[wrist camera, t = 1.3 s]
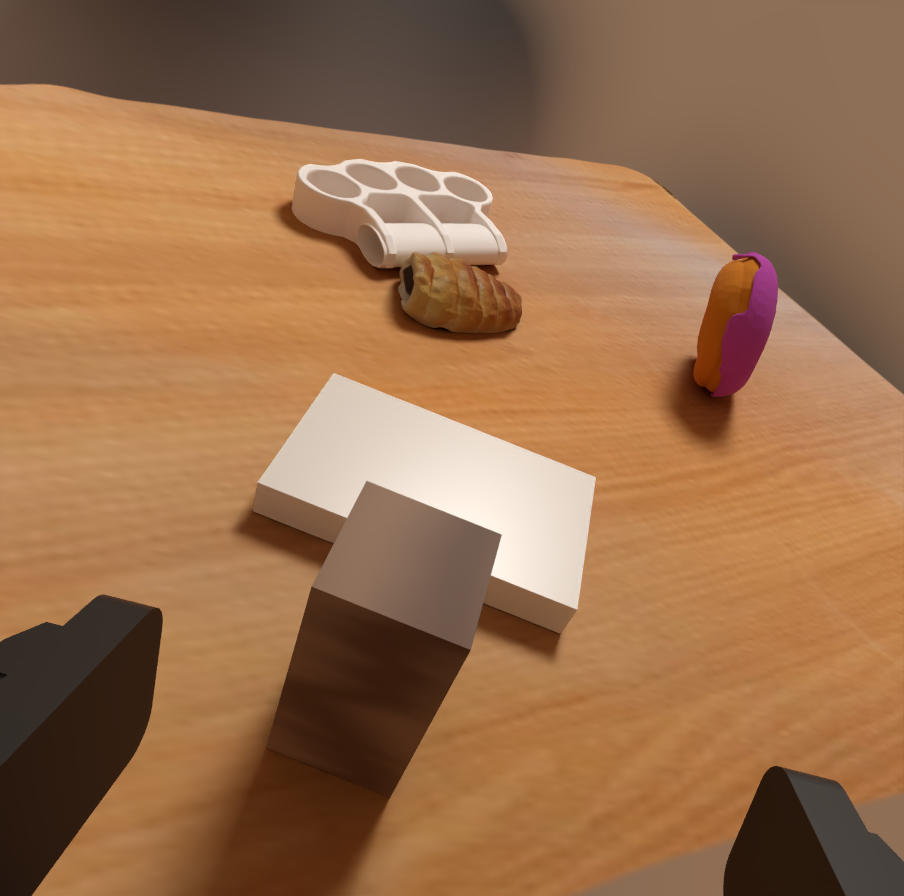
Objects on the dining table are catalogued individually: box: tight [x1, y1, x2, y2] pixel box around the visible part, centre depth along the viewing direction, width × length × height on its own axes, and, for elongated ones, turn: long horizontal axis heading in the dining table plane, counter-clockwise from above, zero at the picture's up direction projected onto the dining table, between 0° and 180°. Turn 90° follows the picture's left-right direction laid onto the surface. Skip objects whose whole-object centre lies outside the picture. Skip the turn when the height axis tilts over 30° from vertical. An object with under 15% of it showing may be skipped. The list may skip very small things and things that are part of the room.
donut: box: [693, 252, 778, 397], centre depth 57 cm, size 8×9×10 cm
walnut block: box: [266, 481, 502, 797], centre depth 27 cm, size 5×5×10 cm
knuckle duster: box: [292, 159, 508, 268], centre depth 63 cm, size 3×18×15 cm
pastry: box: [398, 252, 522, 333], centre depth 55 cm, size 9×7×4 cm
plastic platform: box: [253, 373, 596, 634], centre depth 40 cm, size 16×10×2 cm, turn 76°
